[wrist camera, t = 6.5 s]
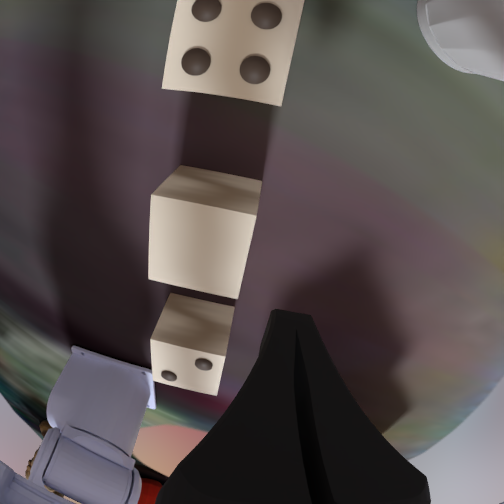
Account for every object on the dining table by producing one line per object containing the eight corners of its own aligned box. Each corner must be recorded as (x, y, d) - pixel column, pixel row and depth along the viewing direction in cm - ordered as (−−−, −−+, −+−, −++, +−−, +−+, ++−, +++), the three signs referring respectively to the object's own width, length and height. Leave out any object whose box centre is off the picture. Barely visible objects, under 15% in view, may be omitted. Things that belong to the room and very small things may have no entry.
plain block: (173, 235, 21) (148, 279, 17) (181, 164, 18) (151, 194, 14) (246, 250, 21) (237, 299, 17) (262, 180, 19) (256, 215, 14)
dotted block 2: (169, 335, 26) (152, 381, 22) (170, 291, 24) (150, 340, 19) (225, 348, 27) (216, 396, 22) (234, 306, 24) (225, 357, 20)
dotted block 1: (192, 84, 16) (161, 88, 12) (207, 3, 13) (181, -20, 9) (280, 98, 16) (281, 106, 12) (298, 16, 13) (305, -6, 9)
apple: (134, 469, 51) (122, 514, 41) (178, 485, 53) (169, 529, 44) (124, 475, 56) (113, 515, 46) (163, 489, 58) (155, 528, 48)
